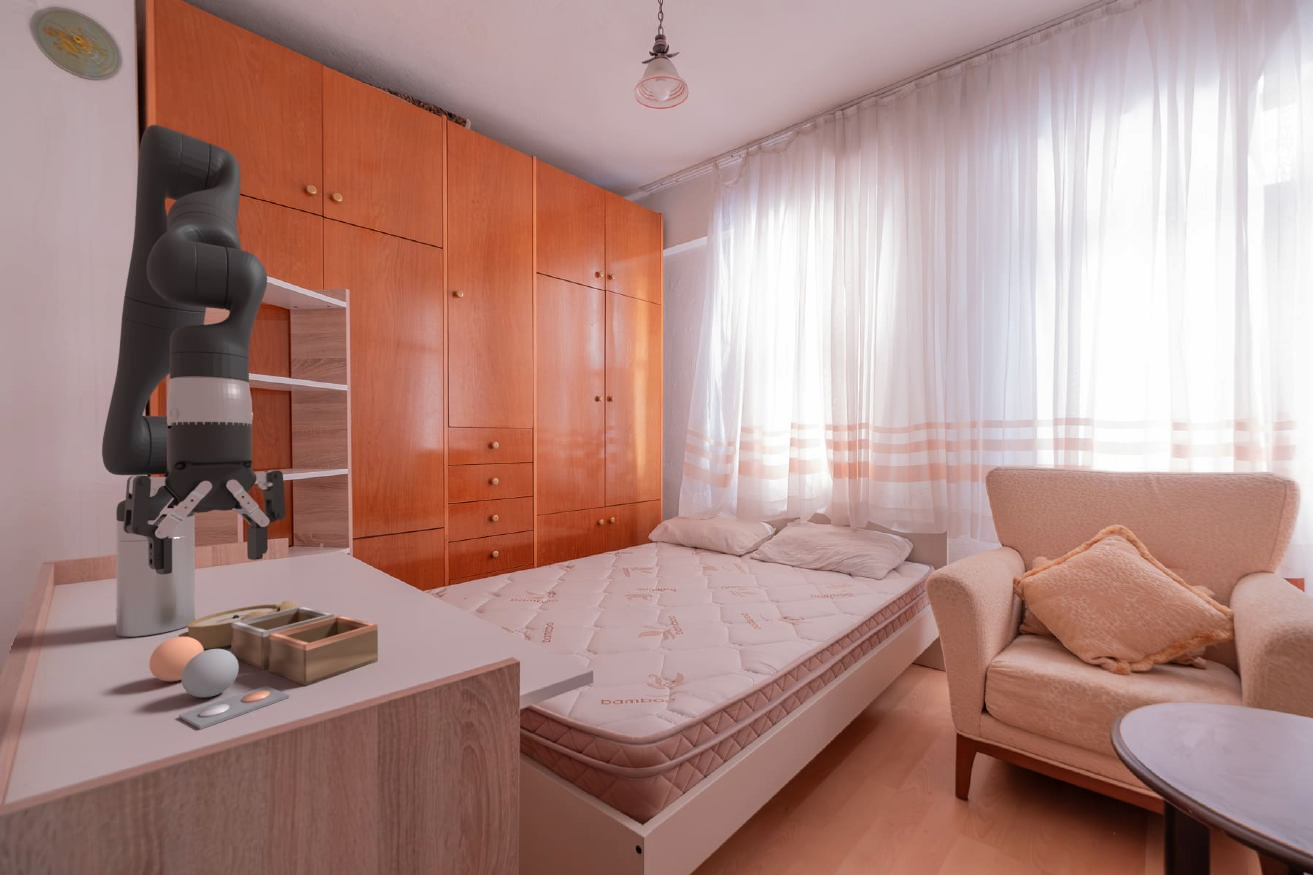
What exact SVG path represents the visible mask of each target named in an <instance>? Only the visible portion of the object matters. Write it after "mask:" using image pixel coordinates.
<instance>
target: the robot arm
mask: <svg viewBox="0 0 1313 875" xmlns="http://www.w3.org/2000/svg"><path fill="white" fill-rule="evenodd" d="M137 163H138V164H137V177H136V180H137V182H136V199H135V201H136V202H135V216H134V217H135V218H134V219H135V220H134V232H133V241H132V243H133V244H132V250H131V256H130V262H129V268H128V273H127V279H126V286H125V291H124V297H123V305H122V306H123V307H122V314H121V324H120V337H119V338H120V339H119V350H118V351H119V352H118V359H117V360H118V361H117V368H116V374H115V379H114V380H115V381H114V384H113V390H112V395H111V399H110V402H109V408H108V412H107V416H106V417H107V418H106V420H105V426H104V431H103V435H102V436H103V437H102V445H101V456H102V463H103V466H104V468H105V469H106V470H107V471H108V472H109V474H112V475H116V476H129V477H128V478H127V480H126V487H125V488H126V490H125V499H124V500H122V501H119V503H118V504H117V507H116V519H115V520H116V608H115V610H116V611H115V612H116V613H115V614H116V617H115V624H116V625H115V626H116V628H115V629H116V630H115V631H116V633H115V634H116V636H119V637H128V638H129V637H141V636H142V637H143V636H144V637H145V636H148V635H157V634H163V633H166V632H172V631H176V630H180V629H183V628H186V627H188V625H187V624H188V623H190V622H192V621H194V620H196V618H195V617H196V612H195V611H196V606H195V604H196V599H195V598H196V572H195V571H196V568H195V567H196V564H195V563H196V559H195V557H196V553H195V552H196V547H195V546H196V545H195V544H196V542H195V541H196V540H195V539H196V534H195V529H196V528H195V524H196V523H195V521H196V519H195V517H196V516H195V514H196V513H197V514H200V513H208V512H211V511H221V512H225V511H234V512H236V514H238V515H240V516H241V518H243V520H245V521H246V522H247V524H248V525H250V527H247V528H246V530H247V531H246V540H247V542H246V545H247V546H246V547H247V549H246V550H247V555H246V556H247V558H248V560H252V561H256V560H257V561H258V560H262V559H263V557H264V555H265V554H267V551H268V548H269V546H268V545H269V544H268V541H269V540H268V538H269V537H268V532H269V531H268V529H269V528H268V527H269V526H270V525H271V524H272V523H275V522H276V521H280V520H283V519H285V518H286V515H287V512H286V500H285V499H286V498H285V486H284V474H283V472H282V471H281V470H279V469H278V470H277V469H276V470H275V469H274V470H265V471H263V472H255V471H254V469H253V466H252V462H253V420H254V413H253V402H252V395H251V390H250V383H249V382H250V377H249V376H250V373H249V372H250V369H249V368H250V364H249V363H250V344H251V336H252V333H253V329H254V324H255V321H256V318H257V315H258V312H259V309H260V306H261V305H262V301H263V299H264V297H265V294H266V290H267V286H268V274H267V271H266V269H265V266H264V264H263V262H262V261H261V260H260V259H259V258H258V257H257V256H256V255H255V254H253V253H252V252H250V251H246V250H243V249H242V244H241V239H240V235H239V231H238V229H239V228H238V225H237V224H238V223H237V222H238V217H239V216H238V215H239V211H240V199H241V197H240V196H241V184H242V182H241V181H242V178H241V174H242V173H241V169H240V164H239V162H238V160H237V158H236V156H234V154H233V153H231V152H230V151H229V150H227V149H224V148H222V147H220V146H218V145H216V144H214V143H209V142H208V141H205V140H202V139H199V138H196V137H193V136H192V135H189V134H184V133H181V132H180V131H176V130H174V129H170V128H169V127H165V126H162V125H158V124H151V125H149V126H148V127H147V128H146V129H145V130H144V132H143V134H142V137H141V141H140V146H139V153H138V162H137ZM166 199H171V200H174V201H175V202H173V204H172V205H171V206H170V208H169V210H168V212H167V208H166ZM207 308H209V309H217V310H225V311H229V314H228V316H227V318H225V319H224V320H222V321H219V322H216V323H209V324H205V319H206V318H205V317H206V312H207ZM168 375H169V378H170V379H169V386H168V392H167V398H166V416H163V415H161V416H160V415H144V412H145V410H146V406H147V405H148V402H149V400H150V397H151V395H153V393H154V391H155V390H156V389H157V387H158V386H159V385H160V384H161V382H163V380H164V379H165V378H167V376H168ZM149 475H163V476H149ZM255 484H257V485H258V488H259V489H261V490H263V493H262V494H263V504H264V512H263V511H262V510H261V508H260V506H259V504H258V503H257V502H256V501H255V500H254V498H252V497H251V495H250V494H249V492H250V491H251V489H252V488H253V486H254V485H255Z"/></svg>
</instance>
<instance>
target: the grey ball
mask: <svg viewBox="0 0 1313 875" xmlns="http://www.w3.org/2000/svg"><path fill="white" fill-rule="evenodd" d="M239 669H240V666H239V660H237V659H236V657H235V656H234V655H233V654H232V653H231V651H229V650H226V649H224V648H223V649H222V648H209V649H206V650H204V652H201V653H199V654H197V655H196V656H195V657H193V658H192V659H191V660H190V661H189V662H188V663H187V665H186V666H185V668H184V670H183V672H182V678H181V680H180V681H181V685H182V687H183V689H184V690H185V692H187V693H188V694H189V695H191V696H193V697H195V698H203V699H205V698H211V697H214V696H218V695H219V694H221V693H223V692H224V691H225V692H226V690H227V689H228V688H230V687H231V686H232V684H233V683H234V682H235V681H236V679H237V677H238V673H239Z"/></svg>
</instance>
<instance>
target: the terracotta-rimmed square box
mask: <svg viewBox="0 0 1313 875" xmlns="http://www.w3.org/2000/svg"><path fill="white" fill-rule="evenodd" d="M378 632H379V630H378V624H377V623H372V622H368V621H363V620H360V619H356V618H352V617H346V616H342V615H336V616H334V617H332V618H328V619H324V620H321V621H317V622H313V623H309V624H305V625H301V626H297V627H294V628H290V629H286V630H282V631H278V632H274V633H271V634H269V668H268V672H269V673H272V674H274V675H277V676H279V677H282V678H285V679H288V680H290V681H293V682H295V683H298V684H301V685H303V686H305V687H307V686H310V685H312V684H315V683H319V682H322V681H324V680H327V679H330V678H332V677H336V676H338V675H339V676H340V675H341V674H344V673H347V672H350V671H353V670H356V669H358V668H361V666H362V667H364V666H367V665H371V664H373V663H375V662H374V661H376V662H378V661H379V654H378V652H379V648H378V647H379V645H378V642H379V641H378Z"/></svg>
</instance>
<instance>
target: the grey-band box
mask: <svg viewBox="0 0 1313 875" xmlns="http://www.w3.org/2000/svg"><path fill="white" fill-rule="evenodd" d="M332 617H335V614H334V613H332V612H331V613H330V612H326V611H322V610H317V609H313V608H309V607H305V606H296V608H292V609H288V610H283V611H279V612H275V613H270V614H266V615H262V616H257V617H253V618H249V619H245V620H240V621H236V622H232V623H231V645H230V648H231V651H230V652H231V653H232V654H233V655H234V656H235V657H236V659H237V661H238V662H242V663H245V664H247V665H250V666H253V667H255V668H259V669H261V670H269V634H271V633H274V632H278V631H282V630H286V629H290V628H294V627H297V626H301V625H305V624H309V623H313V622H317V621H321V620H324V619H328V618H332Z"/></svg>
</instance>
